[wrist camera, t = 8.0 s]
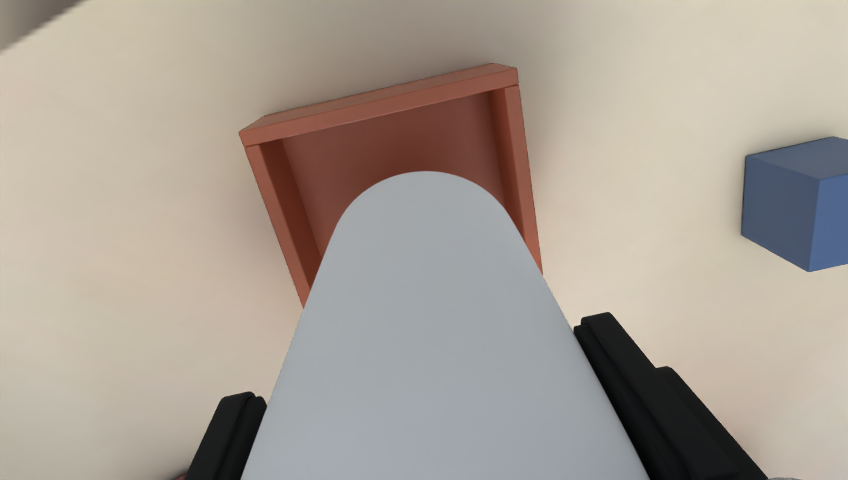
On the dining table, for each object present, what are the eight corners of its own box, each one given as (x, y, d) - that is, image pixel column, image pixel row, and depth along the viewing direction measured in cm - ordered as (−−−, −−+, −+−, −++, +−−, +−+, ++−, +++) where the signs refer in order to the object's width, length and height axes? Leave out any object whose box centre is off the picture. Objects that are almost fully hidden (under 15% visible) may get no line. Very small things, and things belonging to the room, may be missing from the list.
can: (299, 201, 15) (31, 625, 4) (491, 139, 15) (725, 455, 4) (369, 355, 18) (307, 863, 7) (536, 307, 17) (754, 787, 6)
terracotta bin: (263, 115, 22) (237, 132, 18) (494, 62, 21) (517, 67, 18) (330, 312, 26) (321, 359, 22) (524, 269, 26) (547, 309, 22)
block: (745, 155, 24) (820, 179, 20) (833, 135, 24) (927, 155, 20) (740, 235, 26) (808, 273, 22) (822, 217, 26) (906, 251, 22)
